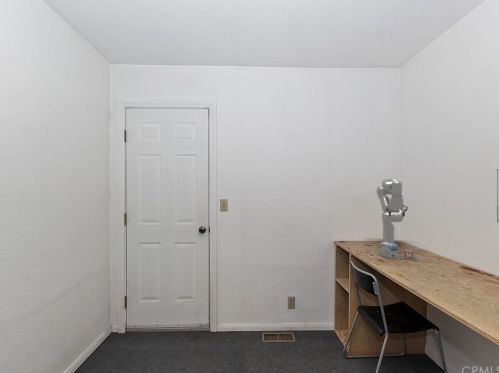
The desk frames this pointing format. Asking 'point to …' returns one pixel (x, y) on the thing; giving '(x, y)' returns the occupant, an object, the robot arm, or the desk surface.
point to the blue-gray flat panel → (408, 259)
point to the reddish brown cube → (409, 254)
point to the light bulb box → (388, 250)
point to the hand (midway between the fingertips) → (396, 216)
